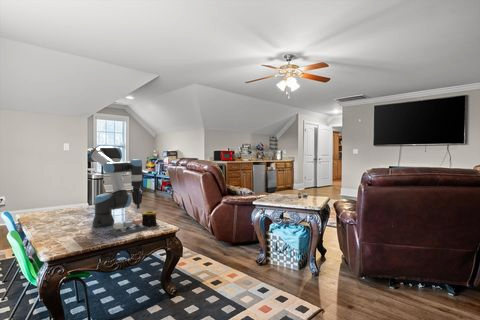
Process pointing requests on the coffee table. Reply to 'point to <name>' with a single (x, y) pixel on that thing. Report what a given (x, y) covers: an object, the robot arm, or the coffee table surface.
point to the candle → (149, 218)
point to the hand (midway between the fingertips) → (137, 212)
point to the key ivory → (118, 226)
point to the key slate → (128, 224)
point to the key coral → (137, 222)
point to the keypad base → (127, 230)
